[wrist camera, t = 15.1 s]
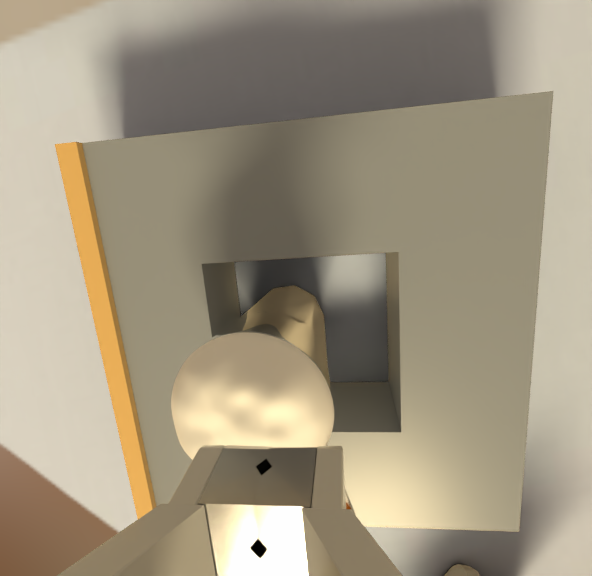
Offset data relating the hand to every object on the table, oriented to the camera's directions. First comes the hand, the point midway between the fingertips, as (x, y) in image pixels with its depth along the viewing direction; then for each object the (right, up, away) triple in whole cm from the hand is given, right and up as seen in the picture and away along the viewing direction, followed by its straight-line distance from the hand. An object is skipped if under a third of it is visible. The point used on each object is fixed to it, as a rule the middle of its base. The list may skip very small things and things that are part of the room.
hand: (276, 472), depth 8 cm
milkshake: (0, +2, +10) cm, 11 cm away
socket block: (+1, +3, +10) cm, 10 cm away
